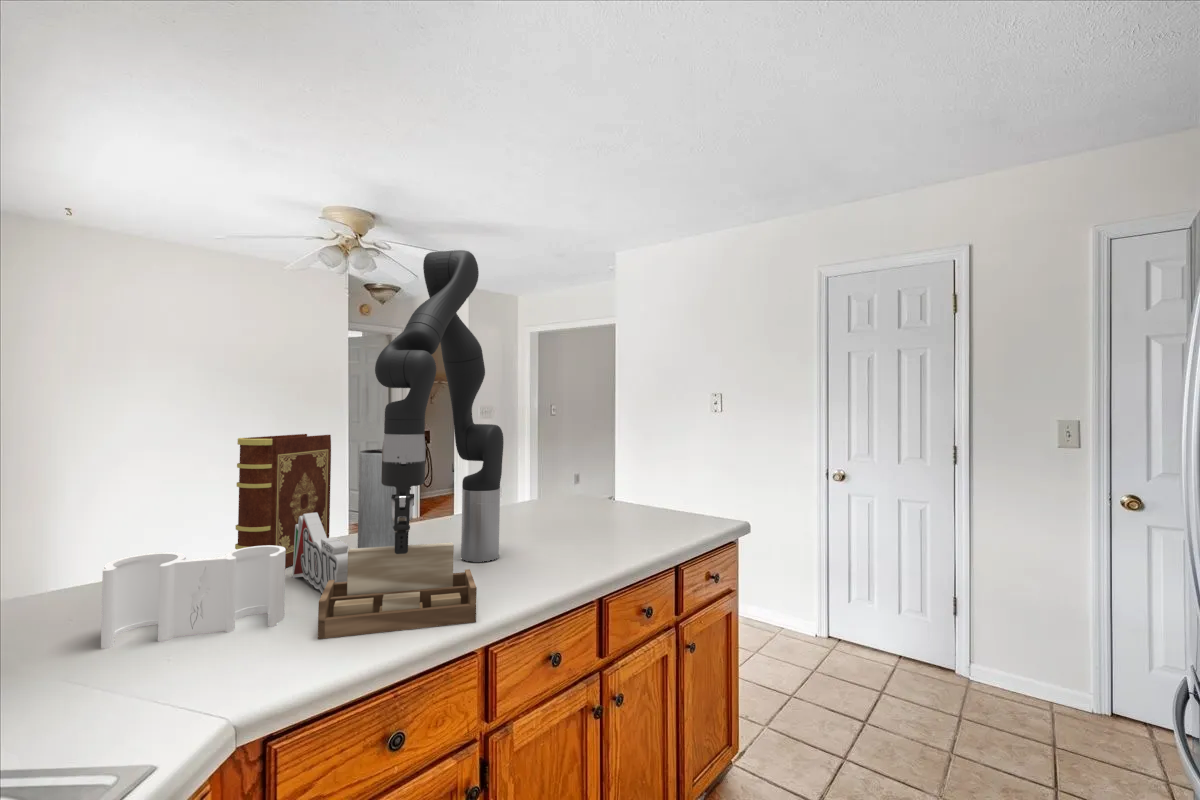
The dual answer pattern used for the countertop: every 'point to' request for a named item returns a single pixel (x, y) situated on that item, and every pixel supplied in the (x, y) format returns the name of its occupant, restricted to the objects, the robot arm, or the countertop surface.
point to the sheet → (399, 568)
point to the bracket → (191, 592)
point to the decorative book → (281, 488)
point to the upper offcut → (401, 601)
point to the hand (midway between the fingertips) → (401, 547)
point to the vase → (374, 503)
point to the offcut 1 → (353, 607)
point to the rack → (396, 619)
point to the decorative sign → (318, 553)
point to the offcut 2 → (445, 600)
